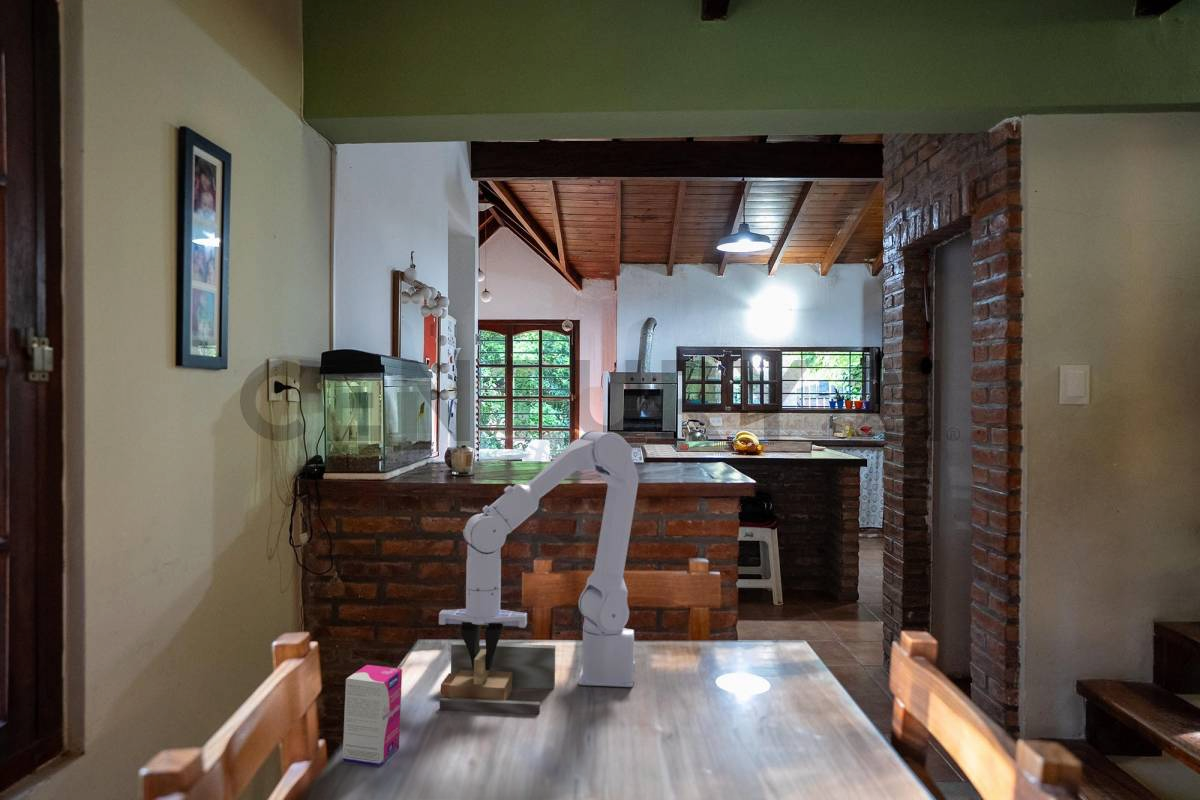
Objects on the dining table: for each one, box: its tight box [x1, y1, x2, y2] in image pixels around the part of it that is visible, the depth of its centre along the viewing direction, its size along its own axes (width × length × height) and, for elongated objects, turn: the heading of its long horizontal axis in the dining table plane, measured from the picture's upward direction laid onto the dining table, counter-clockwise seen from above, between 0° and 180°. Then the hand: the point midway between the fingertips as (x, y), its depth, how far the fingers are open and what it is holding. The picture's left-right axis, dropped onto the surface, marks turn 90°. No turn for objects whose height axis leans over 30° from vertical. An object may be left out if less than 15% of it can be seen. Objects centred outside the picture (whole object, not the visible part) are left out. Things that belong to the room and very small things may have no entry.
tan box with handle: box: [448, 649, 513, 701], centre depth 120 cm, size 9×7×7 cm
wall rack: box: [439, 641, 556, 715], centre depth 120 cm, size 18×12×7 cm, turn 86°
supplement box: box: [341, 664, 403, 768], centre depth 100 cm, size 6×6×12 cm
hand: (482, 667), depth 121 cm, fingers closed on tan box with handle, 2 cm apart
